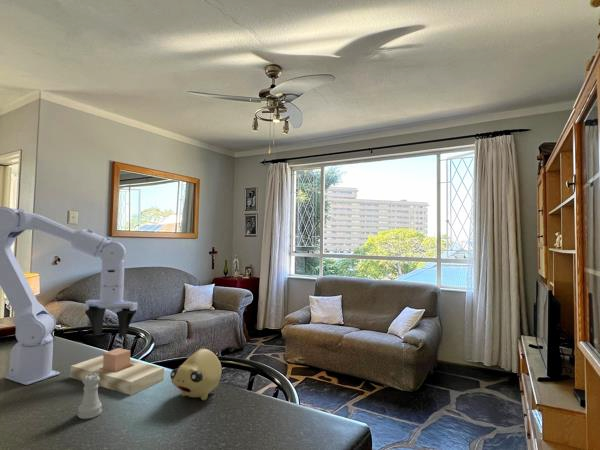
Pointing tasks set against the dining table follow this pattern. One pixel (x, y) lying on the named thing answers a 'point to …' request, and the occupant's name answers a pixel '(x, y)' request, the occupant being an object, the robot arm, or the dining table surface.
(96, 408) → the rook chess piece
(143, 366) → the rail
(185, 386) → the yellow toy creature
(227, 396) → the dining table surface
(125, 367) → the square peg
